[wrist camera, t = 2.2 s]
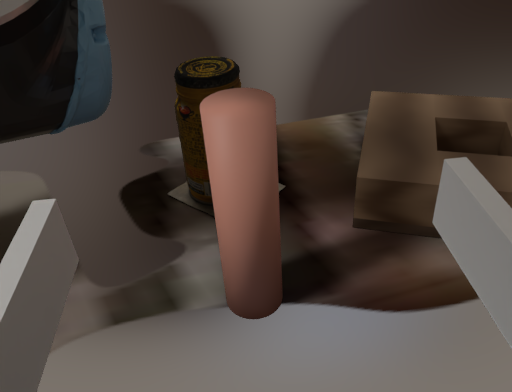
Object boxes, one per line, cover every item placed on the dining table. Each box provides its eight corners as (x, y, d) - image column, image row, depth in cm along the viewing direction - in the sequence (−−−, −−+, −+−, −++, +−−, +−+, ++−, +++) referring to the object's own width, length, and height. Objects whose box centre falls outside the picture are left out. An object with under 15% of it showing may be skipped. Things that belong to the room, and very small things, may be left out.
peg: (219, 313, 33) (188, 118, 24) (236, 272, 36) (214, 85, 27) (275, 323, 32) (264, 123, 23) (287, 280, 35) (282, 89, 26)
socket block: (352, 227, 39) (356, 177, 36) (367, 134, 52) (371, 91, 49) (600, 257, 35) (627, 203, 32) (552, 147, 47) (569, 101, 44)
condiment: (219, 161, 49) (205, 46, 42) (285, 187, 45) (283, 64, 38) (167, 196, 45) (142, 73, 38) (235, 229, 40) (221, 97, 33)
